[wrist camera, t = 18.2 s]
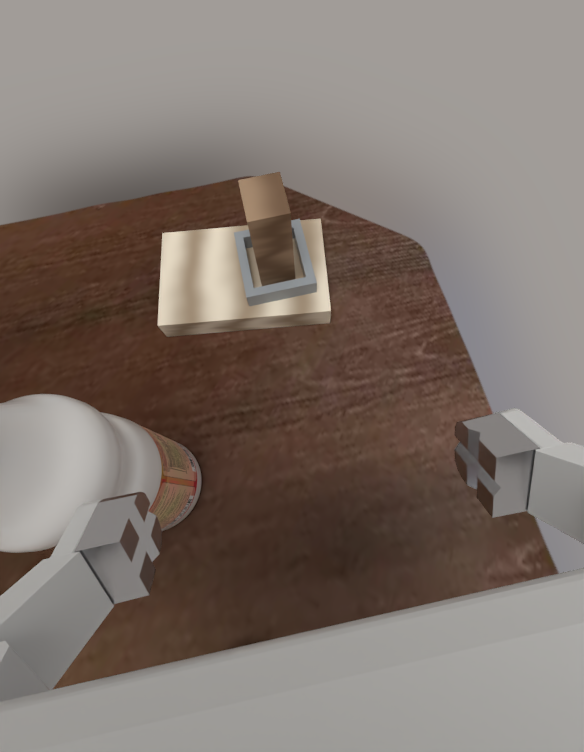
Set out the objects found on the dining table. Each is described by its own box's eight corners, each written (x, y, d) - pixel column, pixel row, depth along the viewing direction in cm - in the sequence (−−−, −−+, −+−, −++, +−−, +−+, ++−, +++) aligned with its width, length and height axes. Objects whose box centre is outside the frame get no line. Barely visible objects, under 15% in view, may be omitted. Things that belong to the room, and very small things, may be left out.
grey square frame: (249, 306, 44) (246, 297, 42) (236, 243, 47) (233, 232, 45) (316, 292, 44) (316, 282, 42) (300, 230, 47) (299, 218, 45)
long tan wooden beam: (262, 288, 44) (247, 222, 34) (254, 252, 46) (237, 179, 36) (295, 281, 44) (290, 213, 34) (286, 245, 46) (279, 170, 36)
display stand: (167, 336, 46) (157, 325, 43) (170, 248, 51) (162, 233, 48) (329, 323, 46) (331, 311, 43) (319, 234, 50) (320, 218, 47)
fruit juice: (194, 537, 39) (-60, 610, 12) (107, 525, 40) (-307, 568, 13) (211, 445, 42) (36, 345, 15) (130, 436, 43) (-170, 325, 16)
